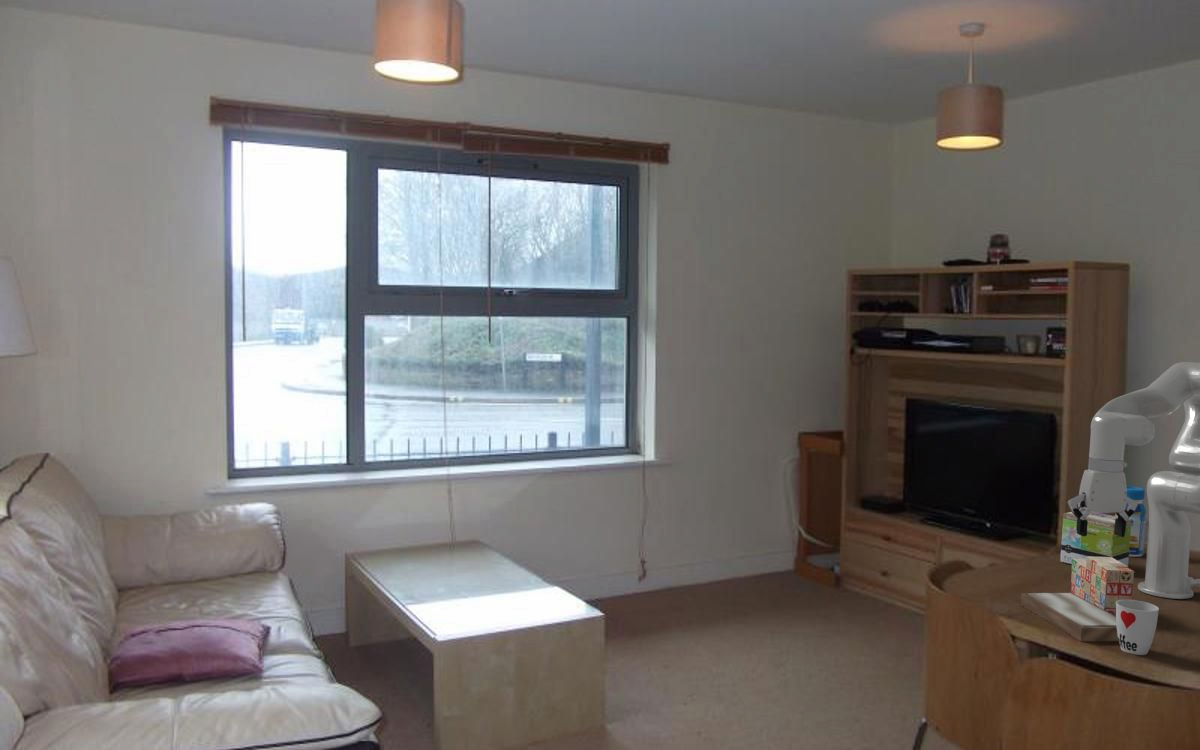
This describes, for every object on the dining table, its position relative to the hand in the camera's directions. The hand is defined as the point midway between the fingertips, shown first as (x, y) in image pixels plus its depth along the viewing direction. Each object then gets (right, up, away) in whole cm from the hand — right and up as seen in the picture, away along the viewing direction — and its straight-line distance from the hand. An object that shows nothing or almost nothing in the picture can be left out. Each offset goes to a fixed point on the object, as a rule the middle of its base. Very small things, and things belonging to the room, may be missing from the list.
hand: (1100, 535), depth 245 cm
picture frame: (-11, -19, -10) cm, 24 cm away
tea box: (+19, -16, +41) cm, 48 cm away
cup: (-7, -20, -29) cm, 36 cm away
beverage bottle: (+36, -15, +56) cm, 68 cm away
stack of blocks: (+1, -18, +2) cm, 18 cm away
